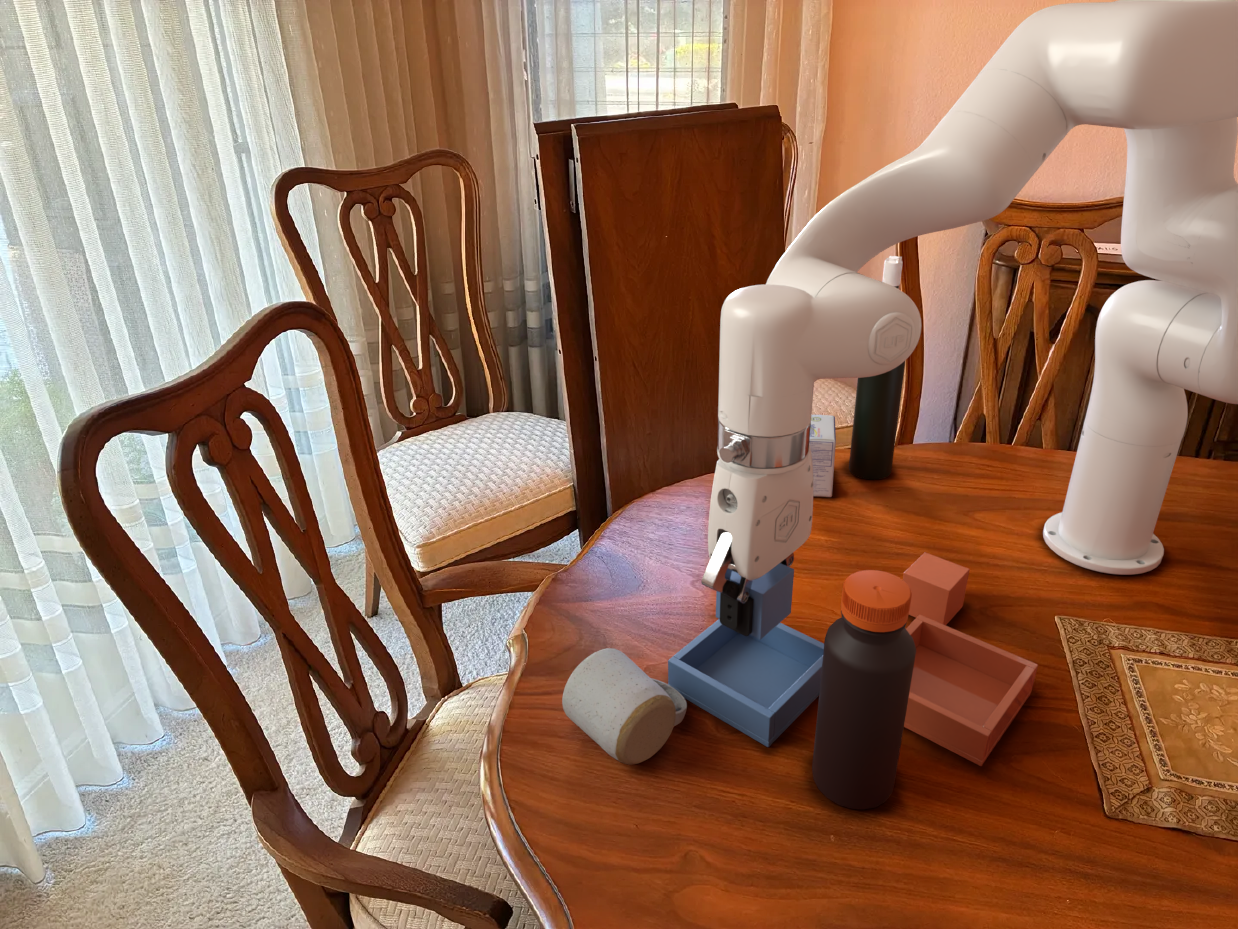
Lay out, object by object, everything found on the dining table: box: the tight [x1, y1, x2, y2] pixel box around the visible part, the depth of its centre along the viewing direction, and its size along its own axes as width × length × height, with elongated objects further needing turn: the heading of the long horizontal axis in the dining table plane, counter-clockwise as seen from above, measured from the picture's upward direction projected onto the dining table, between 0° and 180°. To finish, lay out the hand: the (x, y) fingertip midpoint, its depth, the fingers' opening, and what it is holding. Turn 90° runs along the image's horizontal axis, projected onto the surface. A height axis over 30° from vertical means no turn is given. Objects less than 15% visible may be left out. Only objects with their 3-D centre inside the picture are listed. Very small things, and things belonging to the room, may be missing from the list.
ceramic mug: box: [561, 647, 688, 766], centre depth 77 cm, size 11×8×8 cm
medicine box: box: [809, 414, 837, 498], centre depth 115 cm, size 8×4×9 cm, turn 168°
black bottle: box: [811, 569, 916, 810], centre depth 68 cm, size 7×7×20 cm
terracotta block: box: [902, 551, 970, 626], centre depth 91 cm, size 5×5×5 cm
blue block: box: [715, 563, 795, 639], centre depth 78 cm, size 5×5×5 cm
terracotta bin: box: [904, 615, 1039, 767], centre depth 80 cm, size 12×12×4 cm
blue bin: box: [667, 618, 824, 748], centre depth 83 cm, size 12×12×4 cm
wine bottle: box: [848, 255, 907, 481], centre depth 113 cm, size 6×6×30 cm
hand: (754, 612), depth 79 cm, fingers closed on blue block, 5 cm apart
